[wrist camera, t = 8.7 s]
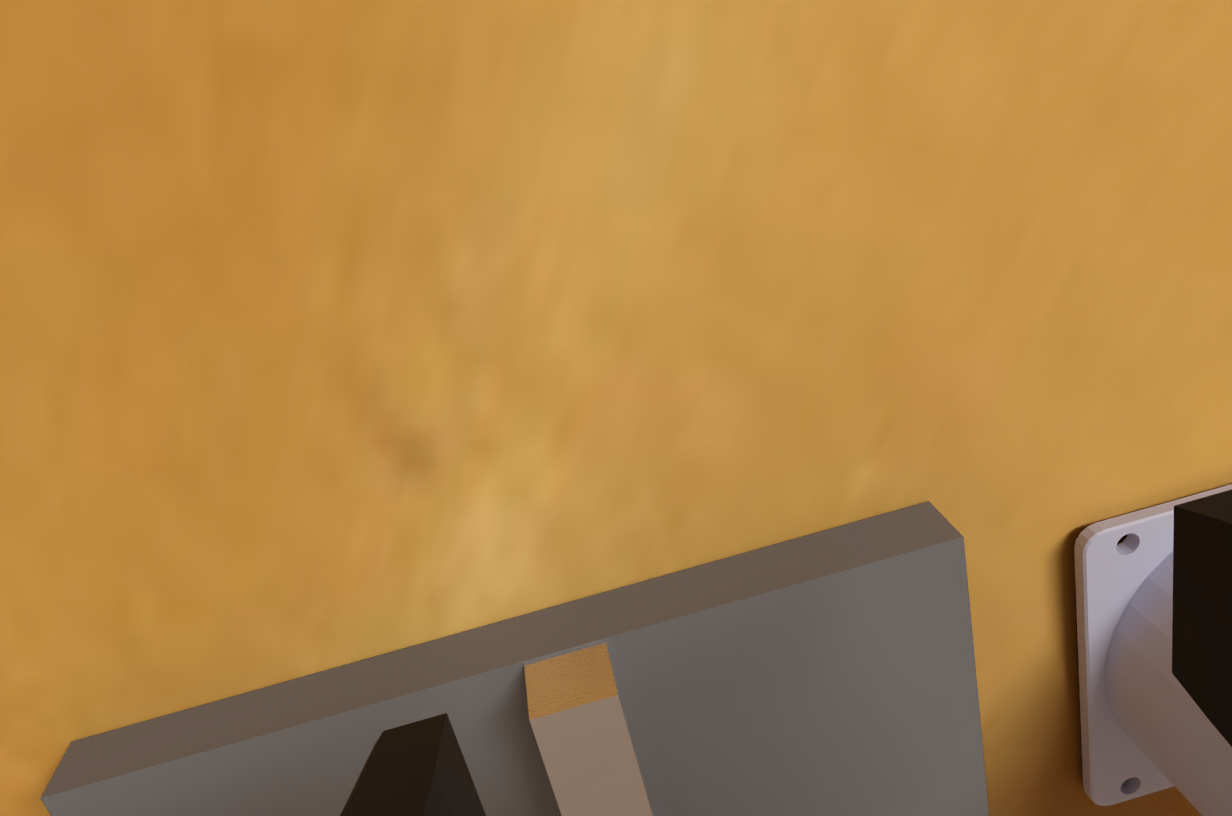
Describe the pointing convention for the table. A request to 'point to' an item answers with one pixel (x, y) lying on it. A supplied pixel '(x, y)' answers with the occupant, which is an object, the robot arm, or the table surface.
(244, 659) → the table surface
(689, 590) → the board
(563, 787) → the shafts
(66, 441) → the table surface
